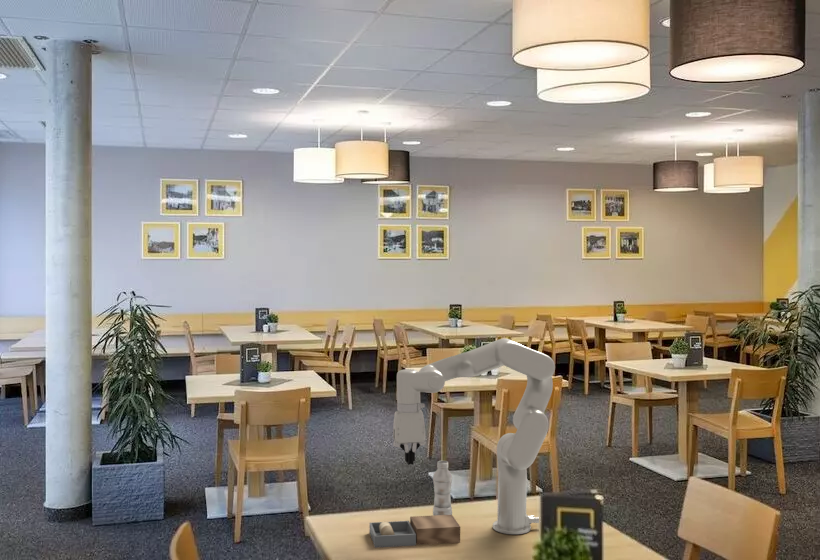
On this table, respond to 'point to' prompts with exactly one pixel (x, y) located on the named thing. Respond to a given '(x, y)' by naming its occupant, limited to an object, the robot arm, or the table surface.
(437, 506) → the plastic bottle
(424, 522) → the flat wooden case
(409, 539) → the box
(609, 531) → the table surface
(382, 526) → the maple roller
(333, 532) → the table surface
